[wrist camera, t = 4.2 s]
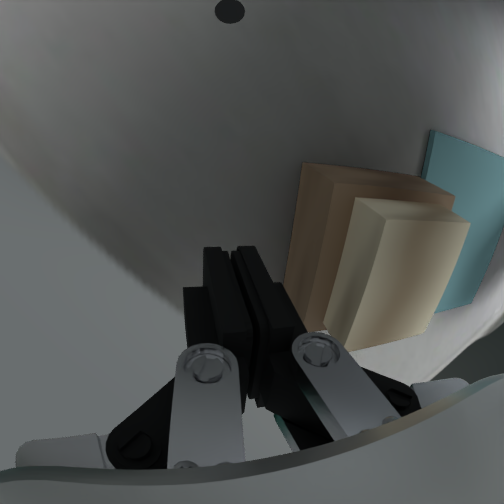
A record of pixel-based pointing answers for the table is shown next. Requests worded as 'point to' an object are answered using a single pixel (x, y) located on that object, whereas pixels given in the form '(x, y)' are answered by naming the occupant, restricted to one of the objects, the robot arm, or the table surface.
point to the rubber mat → (468, 208)
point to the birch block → (392, 270)
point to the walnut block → (337, 227)
